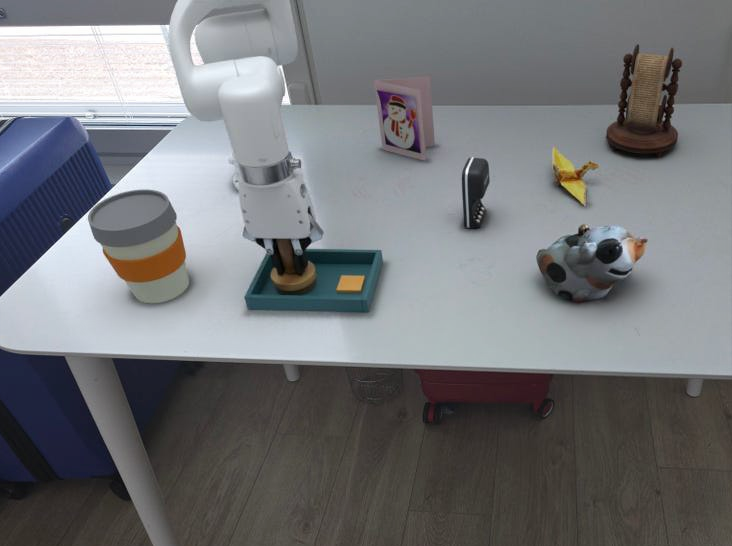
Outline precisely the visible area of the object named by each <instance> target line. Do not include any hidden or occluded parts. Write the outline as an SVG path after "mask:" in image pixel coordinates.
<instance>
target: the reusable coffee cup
mask: <svg viewBox="0 0 732 546" xmlns="http://www.w3.org/2000/svg"><path fill="white" fill-rule="evenodd" d="M177 217H178V216H177V212H176V211H175V209H174V206H173V205H172V203H171V201H170V199H169V197H168V196H167V195H166V194H165V193H163V192H162V191H160V190H155V189H133V190H128V191H123V192H120V193H115V194H113V195H111V196H109V197H107V198H104V199H103V200H101V201H100V202H98V203H96V205H94V206H93V207H92V208H91V210H90V211H89V212H88V215H87V221H88V224H89V227H90V230H91V234H92V236H93V239H94V240H95V241H96V242H97V243H98V244H99V245H100V246H101V247H102V253H103V255H104V257H105V259H106V260H107V262H108V263H109V264H110V265H111V267H112V269H113V271H114V272H115V273H116V275H117V276H118V277H119V278H120V279H122V280H123V281H124V282H125V284H126V285H127V286H128V287H129V290H130V291H131V292H132V294H133V295H134V297H135V299H136V300H138V301H139V302H141V303H144V304H160V303H165V302H168V301H171V300H173V299H176V298H177V297H179V296H181V295H182V294H183V293H184V292H185V291H187V289H188V287H189V284H190V277H189V273H188V269H187V263H186V260H187V259H186V258H187V252H186V246H185V243H184V239H183V235H182V230H181V228H180V227H179V226H178V224H177V220H178V218H177Z"/></svg>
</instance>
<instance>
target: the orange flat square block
mask: <svg viewBox="0 0 732 546" xmlns="http://www.w3.org/2000/svg"><path fill="white" fill-rule="evenodd" d="M364 282H365V276H349V275H341V278H340V281H339V284H338V287H337V293H361V291H362V288H363V285H364Z"/></svg>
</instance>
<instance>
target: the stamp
mask: <svg viewBox="0 0 732 546" xmlns="http://www.w3.org/2000/svg"><path fill="white" fill-rule="evenodd" d="M276 243H277V246H278V250H279V254H280V257H281V261H282V265H283V268H284V270H285V271H284V273H283V274H282V275H278V273H277V270H276V268H273V270H272V271H271V279H272V283H273V285H274V286H275V288H276V291H277V292H278V293H279V294H280V295H300V296H302V295H305V294H307V293H309V292H310V291H312V290H313V289H314V287H315V286H316V283H317V280H316V270H315V266H314V265H313V263H311V262H310V261H308V267H307V268H305V270H304V272H303V275H302V276H299V275H297V271H296V267H295V264H294V260H293V254H294V247H293V244H292V241H291V239H285V238H276Z"/></svg>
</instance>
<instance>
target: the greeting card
mask: <svg viewBox="0 0 732 546" xmlns="http://www.w3.org/2000/svg"><path fill="white" fill-rule="evenodd" d="M373 87H374V93H375V102H376V109H377V117H378V125H379V132H380V138H381V139H380V141H381V148H382V150H383V151H387V152H390V153H393V154H398V155H402V156H404V157H405V156H406V157H410V158H413V159H416V160H421V161H424V162H427V156H426V154H427V153H426V148H428V147H429V148H430V147H436V143H435V142H436V141H435V128H434V116H433V115H434V114H433V101H432V87H431V76H420V77H406V78H405V77H403V78H388V79H374V80H373Z"/></svg>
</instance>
